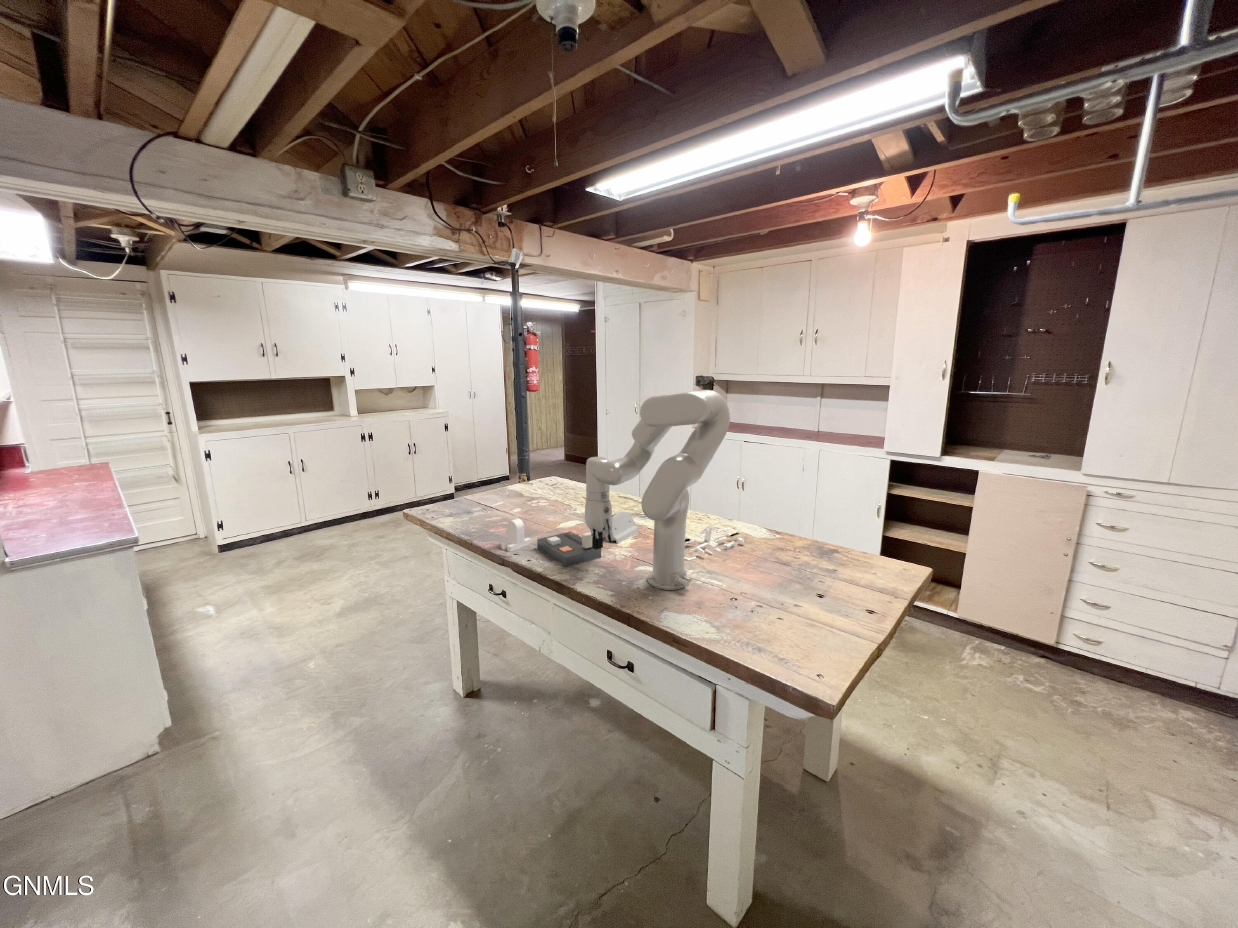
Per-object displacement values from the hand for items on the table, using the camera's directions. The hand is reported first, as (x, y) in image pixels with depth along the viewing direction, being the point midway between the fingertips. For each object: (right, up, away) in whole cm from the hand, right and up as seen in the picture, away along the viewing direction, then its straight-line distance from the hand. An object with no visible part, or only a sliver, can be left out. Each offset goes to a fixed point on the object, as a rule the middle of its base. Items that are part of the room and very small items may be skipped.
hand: (597, 547), depth 158 cm
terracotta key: (-11, -3, +4) cm, 12 cm away
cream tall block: (-4, 0, +5) cm, 6 cm away
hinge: (+8, 0, +26) cm, 27 cm away
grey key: (-16, -1, +10) cm, 19 cm away
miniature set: (+39, -3, +14) cm, 42 cm away
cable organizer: (-30, -2, +15) cm, 34 cm away
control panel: (-11, -3, +9) cm, 14 cm away
